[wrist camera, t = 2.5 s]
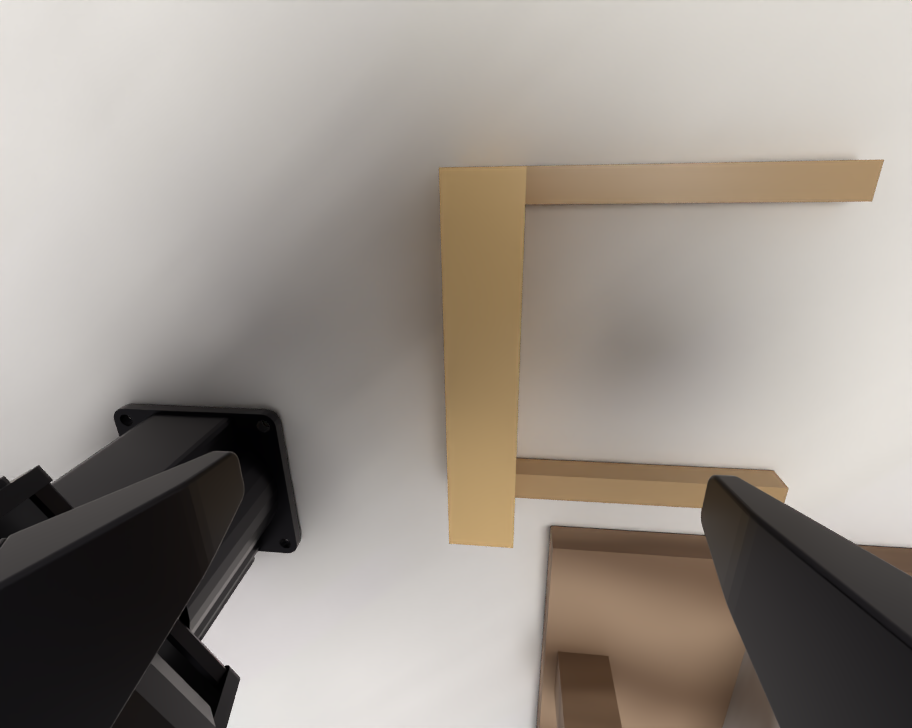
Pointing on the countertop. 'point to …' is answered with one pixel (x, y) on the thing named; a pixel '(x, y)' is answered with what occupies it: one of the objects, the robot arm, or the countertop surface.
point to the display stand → (646, 635)
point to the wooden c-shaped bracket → (499, 324)
